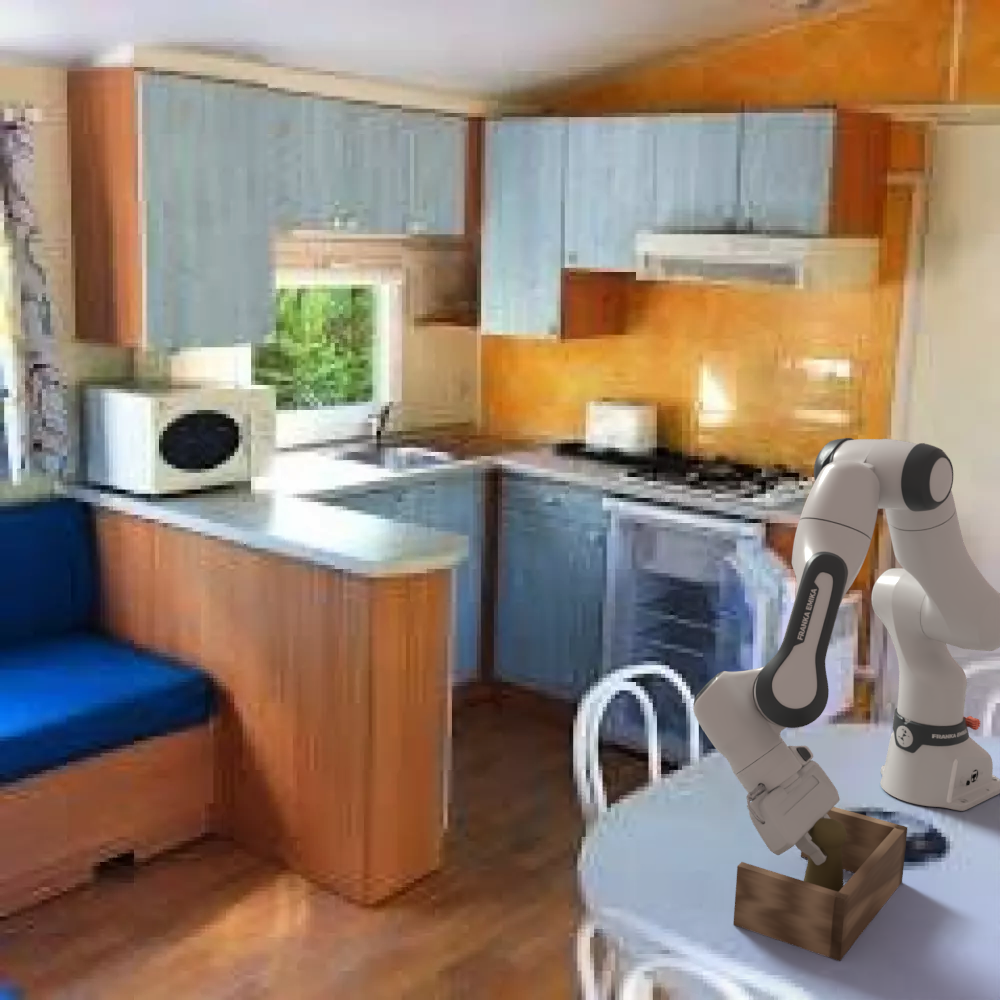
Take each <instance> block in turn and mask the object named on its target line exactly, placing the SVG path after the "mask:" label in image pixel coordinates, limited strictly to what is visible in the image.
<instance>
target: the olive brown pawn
mask: <svg viewBox="0 0 1000 1000" xmlns="http://www.w3.org/2000/svg"><path fill="white" fill-rule="evenodd" d="M809 835H810V836H811V838H812V839H811V841H812V842H813V843H814V844H816V845H817V846H818V847H819V848H821V847H822V848H823V849H824V850H825V852H826V853H827V854H828V858H827V859H826V861H825V862H823V863H822V864H820V865H816V864H815V863H814V862H813V860H812V859H811V858H810V856H809V859H807V864H806V868H805V873H804V878H803V881H805V882H808V883H811V884H815V885H818V886H821V887H824V888H827V889H831V890H834V891H837V892H839V891H840V890H841V888H842V887H843V886H844V885H845V884H844V873H843V872H844V869H843V867H842V849H841V846H842V845H843V844H844V843H845V840H846V830H845V828H844V826H843V824H841V823H840V822H838V821H836V820H834V819H829V818H820V819H819V820H818V821H817V822H816V823H815V825H814V826H813V827H812V828H811V829H810V830H809Z"/></svg>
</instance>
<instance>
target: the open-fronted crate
mask: <svg viewBox="0 0 1000 1000" xmlns="http://www.w3.org/2000/svg"><path fill="white" fill-rule="evenodd" d="M827 814H828V816H829V817H830V818H831V819H834V820H836V821H838V822H840V823H841V824H843V826H844V828H845V830H846V840H845V843H844V844H843V845H842V846H841V849H842V867H843V871H848V872H851V873H853V874H852V876H851V877H850V878H849V879H848V880H847V882H846V883H845V884H843V885H844V886H843V887H842V888H841V890H840V891H839V892H837V891H834V890H831V889H827V888H824V887H821V886H818V885H815V884H811V883H808V882H805V881H804V880H801V879H799V878H795V877H792V876H789V875H785V874H782V873H779V872H777V871H773V870H769V869H766V868H764V867H761V866H756V865H753V864H750V863H747V862H744V861H741V862H740V863H739V864H737V867H736V868H737V869H736V881H735V883H736V884H735V898H734V908H733V925H734V926H736V927H739V928H742V929H745V930H748V931H751V932H754V933H757V934H759V935H762V936H764V937H765V936H766V937H769V938H771V939H774V940H777V941H780V942H783V943H786V944H789V945H792V946H795V947H797V948H799V949H800V948H801V949H803V950H806V951H809V952H812V953H815V954H818V955H821V956H824V957H827V958H830V959H832V960H835V961H838V962H841V961H842V959H843V958H844V957H845V956H846V954H847V953H848V952H849V951H850V949H851V948H852V947H851V946H853V945H854V944H855V943H856V942H857V940H858V939H859V938H860V936H861V935H862V934H863V933H864V932H865V930H866V929H867V927H868V926H869V925H870V924H871V923H872V921H873V920H874V919H875V917H876V916H878V914H879V912H880V911H881V910H882V908H883V907H884V906H885V905H886V903H887V902H888V901H889V900H890V899H891V897H892V896H893V895H894V893H895V892H896V891H897V889H898V888H899V887H900V886H901V884H902V883H903V876H904V867H905V866H904V865H905V856H906V855H905V854H906V847H907V846H906V845H907V835H908V826H906V825H901V824H897V823H893V822H890V821H886V820H884V819H879V818H875V817H872V816H869V815H865V814H861V813H858V812H853V811H850V810H846V809H843V808H840V807H835V806H834V807H833V808H832V809H831V810H830V811H829V812H828V813H827ZM808 833H809V831H808ZM800 851H801V850H800ZM800 857H801V858H805V859H807V860H808V859H809V856H808V855H807V854H805V853H804V852H802V851H801V852H800Z"/></svg>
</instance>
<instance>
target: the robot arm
mask: <svg viewBox="0 0 1000 1000" xmlns="http://www.w3.org/2000/svg"><path fill="white" fill-rule="evenodd" d="M813 465H814V466H813V477H814V483H813V485H812V487H811V489H810V491H809V493H808V496H807V498H806V501H805V502H804V505H803V508H802V512H801V514H800V517H799V520H798V522H797V527H796V530H795V535H794V539H793V546H792V553H791V554H792V555H791V566H792V569H793V572H794V575H795V579H796V580H795V581H796V589H795V590H796V591H795V597H794V601H793V605H792V609H791V612H790V615H789V619H788V622H787V626H786V630H785V633H784V636H783V639H782V642H781V644H780V647H779V649H778V650H777V652H776V653H775V655H774V656H773V657H772V658H771V659H770V660H769V661H768V662H767V663H766V664H765V665H764V666H762V667H757V668H751V669H747V670H740V671H726V670H723V671H720V672H718V673H717V674H716V675H714V677H713V678H711V679H710V680H709V681H708V682H707V683H706V684H705V685H704V686H703V687H702V688H701V690H700V691H699V692H698V693H697V694H696V696H695V697H694V701H693V708H692V709H693V710H692V711H693V713H694V716H695V718H696V720H697V722H698V724H699V726H700V727H701V729H702V731H703V733H705V735H706V736H707V738H708V740H709V741H710V743H711V744H712V745H713V747H714V748H715V750H716V751H718V753H720V755H722V756H723V757H724V758H725V759H726V760H727V762H728V763H729V765H730V767H731V770H732V773H733V774H734V775H735V777H736V779H737V780H738V781H739V783H740V784H741V786H742V787H743V788H744V789H745V791H746V792H747V794H746V803H747V805H746V807H747V810H748V811H749V818H750V820H751V822H752V825H753V826H754V828H755V829H756V831H757V833H758V835H759V836H760V838H761V839H762V841H763V842H764V844H765V845H766V847H767V849H769V850H768V851H770V852H771V853H773V854H775V855H776V856H780V855H782V854H784V853H785V852H786V851H789V850H790V849H792V848H793V847H794V846H795V847H796V848H797V849H798V850H799V851H802V852H804V853H805V854H807V855H808V856H810V858H811V859H812V860H813V862H814V863H815V864H816V865H820V864H822V863H823V862H825V861H826V859H827V858H828V854H827V853H826V852H825V850H824V849H823V848H822V847H821V848H819V847H818V846H817V845H816V844H814V843H813V842H812V841H811V839H812V838H811V836H810V835H809V833H808V831H809V830H810V829H811V828H812V827H813V826H814V825H815V823H816V822H817V821H818V820H819V819H820V818H829V819H831V818H830V817H829V816H828V814H827V813H828V812H829V811H830V810H831V809H832V808H833V807H835V806H836V805H837V804H838V803H839V802H840V800H841V799H840V795H839V792H838V790H837V787H836V786H835V785H834V783H833V782H832V780H831V779H830V777H829V776H828V775H827V773H826V772H825V770H824V769H823V768H822V766H821V765H820V764H819V763H817V762H816V761H815V760H812V759H813V758H814V753H813V752H812V751H811V749H810V748H809V747H808V746H807V745H788V744H787V743H786V741H785V740H784V739H783V738H782V736H781V732H782V731H784V730H785V729H787V728H789V729H796V728H797V729H798V728H802V727H805V726H809V725H810V724H812V723H814V722H815V721H816V720H817V719H819V718H820V717H821V715H822V714H823V712H824V711H825V709H826V707H827V705H828V700H829V681H828V676H827V670H826V668H827V667H826V658H827V653H828V649H829V645H830V641H831V638H832V634H833V631H834V628H835V624H836V621H837V617H838V612H839V609H840V606H841V604H842V602H843V599H844V597H845V596H846V594H847V593H848V591H849V589H850V588H851V586H853V583H854V581H855V579H856V578H857V576H858V575H859V573H860V571H861V569H862V566H863V564H864V562H865V559H866V557H867V555H868V551H869V549H870V545H871V542H872V539H873V535H874V530H875V527H876V523H877V516H878V511H879V510H880V509H883V510H884V511H885V517H886V522H887V526H888V532H889V535H890V539H891V545H892V550H893V553H894V557H895V559H896V562H898V564H899V565H900V566H901V568H900V567H899V568H897V567H896V568H889V569H887V570H885V571H883V572H882V574H880V575H879V577H878V578H877V579H876V581H875V583H874V584H873V587H872V591H871V605H872V609H873V612H874V614H875V615H876V616H877V617H878V618H879V620H880V621H881V622H882V624H883V626H884V627H885V628H886V631H887V632H888V633H889V637H890V639H891V641H892V643H893V646H894V649H895V654H896V657H897V663H898V673H899V677H898V678H899V679H898V694H897V696H898V697H897V707H895V709H894V714H893V716H892V717H893V718H892V731H893V732H891V735H890V738H889V743H888V748H887V753H886V757H885V763H884V765H881V768H880V775H882V777H881V779H880V787H881V788H882V789H883V791H885V792H886V793H887V794H888V795H890V796H892V797H894V798H897V799H898V800H901V801H904V802H907V803H910V804H914V805H919V806H926V807H933V808H934V807H935V808H936V807H937V808H945V809H951V810H954V811H961V812H962V811H963V812H964V811H967V810H969V809H971V808H974V807H976V806H977V805H979V804H981V803H983V802H985V801H987V800H989V799H991V798H993V797H995V796H997V795H999V794H1000V778H999V777H997V775H996V776H995V775H994V774H993V771H994V770H993V769H994V768H993V758H992V756H991V754H990V753H989V752H988V751H987V750H986V749H985V748H983V747H982V746H981V745H980V744H979V743H977V742H976V741H975V740H974V739H973V738H972V737H970V734H969V731H968V730H969V729H968V728H970V729H972V730H973V731H977V730H978V729H979V728H980V727H981V721H980V718H979V719H978V718H976V717H975V718H974V716H972V715H969V716H967V717H966V716H964V715H965V714H964V713H965V703H966V696H967V695H966V694H967V686H968V680H967V675H966V673H965V671H964V669H963V667H962V666H961V665H960V664H959V663H958V662H957V661H956V660H955V658H954V657H953V656H952V654H951V652H950V651H949V648H948V646H947V645H950V646H953V647H956V648H959V649H963V650H970V651H977V652H978V651H980V652H981V651H982V652H994V651H996V650H998V649H999V648H1000V592H999V591H997V590H996V588H994V587H993V586H992V585H991V584H990V583H989V582H988V580H987V579H986V577H985V576H983V574H982V573H981V571H980V570H979V569H978V567H977V565H976V564H975V562H974V560H973V559H972V557H971V556H970V554H969V552H968V550H967V548H966V546H965V543H964V540H963V539H964V538H963V535H962V531H961V527H960V522H959V518H958V512H957V509H956V504H955V499H954V494H953V491H952V489H953V483H954V467H953V464H952V461H951V459H950V458H949V456H948V455H947V453H946V452H945V451H944V450H943V449H941V448H939V447H937V446H935V445H932V444H928V443H925V442H924V443H923V442H922V443H914V442H910V441H906V440H898V439H893V438H882V439H880V438H878V439H877V438H876V439H874V438H871V439H870V438H864V439H863V438H860V439H854V438H852V437H844V438H836V439H833V440H830V441H829V442H828V443H826V444H825V445H824V446H823V447H822V448H821V450H819V452H818V454H817V456H816V458H815V462H814V464H813Z"/></svg>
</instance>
